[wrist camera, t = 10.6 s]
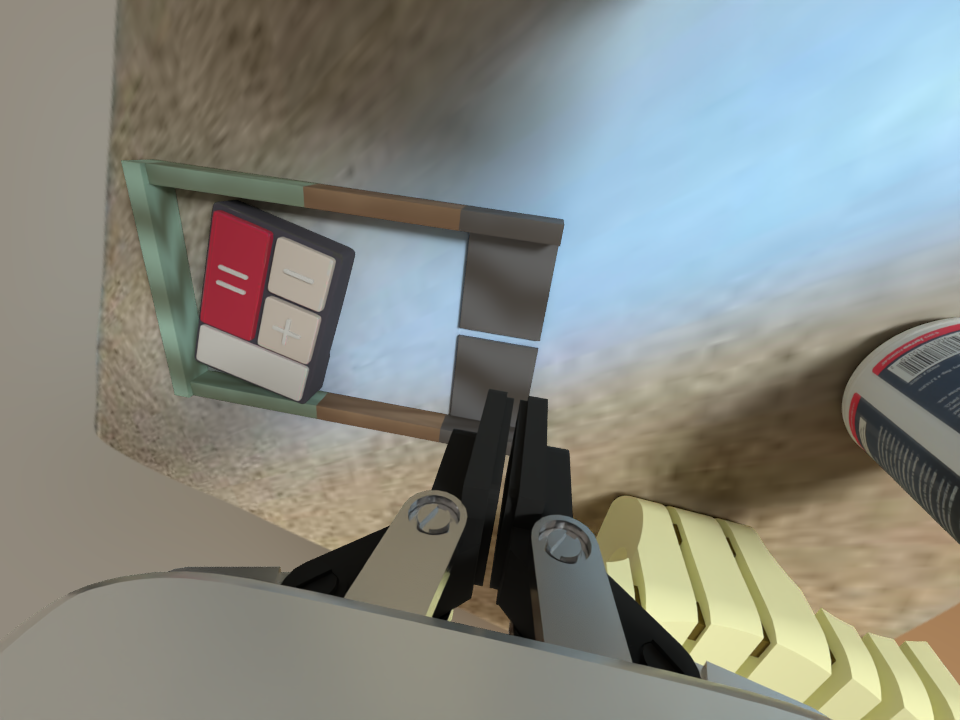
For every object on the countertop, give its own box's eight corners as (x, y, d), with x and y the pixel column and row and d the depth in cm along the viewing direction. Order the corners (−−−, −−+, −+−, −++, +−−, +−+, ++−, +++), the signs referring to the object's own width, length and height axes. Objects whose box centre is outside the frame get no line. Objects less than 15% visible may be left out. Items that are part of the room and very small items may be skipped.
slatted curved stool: (845, 533, 42) (1020, 767, 26) (765, 631, 50) (864, 861, 34) (538, 456, 44) (530, 634, 28) (504, 563, 51) (481, 752, 35)
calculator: (340, 257, 34) (300, 410, 40) (360, 248, 38) (322, 389, 44) (205, 200, 34) (186, 363, 40) (240, 197, 38) (218, 346, 44)
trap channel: (152, 159, 36) (121, 160, 34) (563, 219, 34) (564, 226, 31) (196, 380, 46) (174, 394, 43) (519, 440, 43) (517, 460, 40)
